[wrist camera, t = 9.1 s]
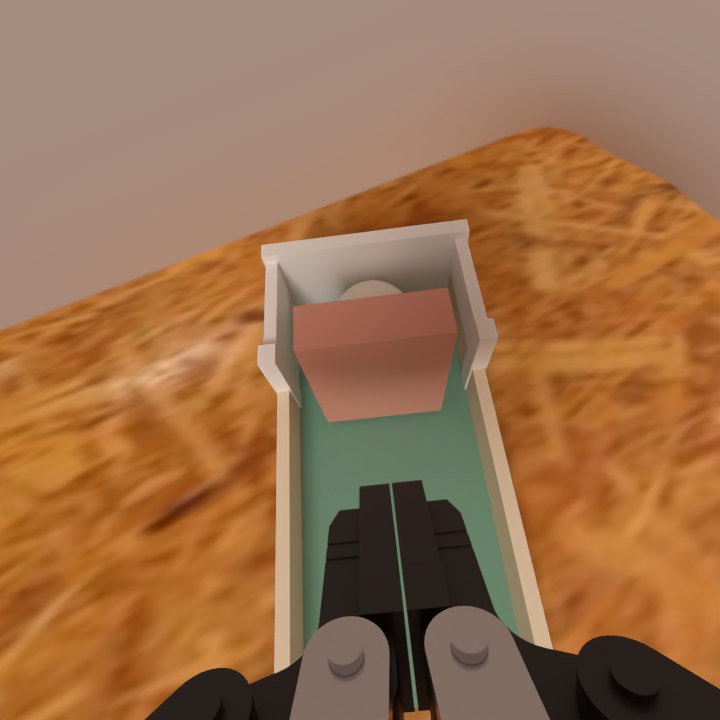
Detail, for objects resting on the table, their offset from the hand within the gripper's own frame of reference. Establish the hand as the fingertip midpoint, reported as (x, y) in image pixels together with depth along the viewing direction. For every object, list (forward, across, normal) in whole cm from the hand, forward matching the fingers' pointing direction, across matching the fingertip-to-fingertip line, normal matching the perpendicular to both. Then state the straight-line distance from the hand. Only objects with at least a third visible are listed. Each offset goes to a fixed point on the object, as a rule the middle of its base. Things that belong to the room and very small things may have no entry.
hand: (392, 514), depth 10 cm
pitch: (+11, 0, +6) cm, 13 cm away
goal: (+16, 0, +1) cm, 16 cm away
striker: (+13, 0, +2) cm, 13 cm away
